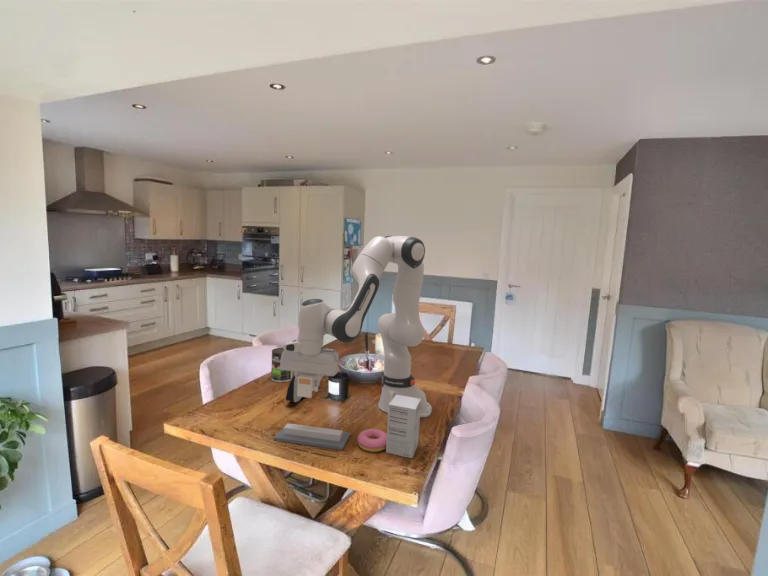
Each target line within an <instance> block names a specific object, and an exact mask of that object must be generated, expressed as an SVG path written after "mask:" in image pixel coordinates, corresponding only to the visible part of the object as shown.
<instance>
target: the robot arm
mask: <svg viewBox="0 0 768 576" xmlns="http://www.w3.org/2000/svg"><path fill="white" fill-rule="evenodd" d="M425 254H426V247H425V243H424V242H423V241H422V240H421V239H419V238H417V237H415V236H414V237H413V236H408V235H407V236H406V235H387V236H380V235H378V236H375V237H373V238H372V239H371V240H369V241H368V243H367V244H366V245H365V246H364V248H362V250H361V251H360V253H359V254H358V256H357V257H356V259H355V261H354V262H353V265H352V268H351V272H352V276H353V278H354V280H355V281H356V282H357V283H358V290H357V292H356V294H355V297H353V301H352V302H351V305H350V306H349V308H347V309H346V310H343V309H340V308H336V307H334V306H332V305H330V304H328V303H326V302H325V301H324V300H323V299H321V298H311V299H306V300H304V301H303V302H302V303H301V305H300V307H299V312H298V321H297V322H298V323H297V324H298V334H297V339H293V340H290V341H288V342H285V343H284V344H283V347H282V348H283V349H284V350H285V351H283V352H282V355H281V361H280V367H281V369H282V370H288V371H293V376H294V375H295V377H296V379H297V384H298V376H299V373H300V372H303V373H311V374H318V377H319V379H318V380H316V381H315V382H314V386H317V387H318V388H319V386H320V385H321V381H322V379H323V378H324V376H327V377H334V376H336V375H337V374H338V372H339V357H340V354H339V352H338V351H337V349H335V348H328V347H324V339H325V338H324V337H325V335H329V336H331V337H334V338H335V339H337V340H338V341H340V342H342V343H350V342H353V341H355V340H356V339H357V338H359V335H361V331H362V329H363V326H364V325H363V324H364V320H365V318H366V315H367V314H368V311H369V309H370V307H371V305H372V303H373V302H374V299H375V297H376V295H377V293H378V291H379V286H380V279H381V277H382V274H383V273H384V271H385V269H386V268H387V267H388V264H389V263H392V264H395V265H397V267H398V269H397V270H398V271H397V273H396V278H395V282H394V288H393V293H392V303H393V305H394V312H395V313H393V312H390V313H389V312H388V313H387V312H386V313H384V314H382V315H381V316H380V317H379V318H378V321H377V329H378V331H379V333H380V336H381V341H382V346H383V353H384V354H383V355H384V362H383V365H384V366H383V372H382V378H381V393H380V397H379V402H378V404H377V407H378V409H379V410H380V411H383V412H385V413H386V414H387V415H388V406H389V404H390V402H391V401H392V400H393V398H394V397H395V395H402V396H407V397H413V398H419V399H421V411H420V418H427V417H430V416H431V414H432V410H433V409H432V404H430V402H428V401H427V395H426V393H425V392H424V391H423V390H422V389H421V388H419V386H417V385H416V378H415V375H412V374H411V366H412V355H411V353H410V352H409V349H408V347H409V348H410V347H411V348H413V347H417V346H418V345H420V344H421V343H422V341H423V339H424V336H425V330H424V328H423V326H422V323H421V320H420V307H419V306H420V304H419V303H420V298H421V293H422V289H423V282H424V275H425V273H424V271H425V267H424V266H425V265H424V262H423V261H424V259H425Z"/></svg>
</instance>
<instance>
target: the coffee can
mask: <svg viewBox="0 0 768 576" xmlns="http://www.w3.org/2000/svg"><path fill="white" fill-rule="evenodd" d="M283 351H285V350H284V349H283V347H277V348H273V349H272V350H271V375H270V380H272V382H276V383H286V382H291V380H292V378H293V376H294V371H288V370H282V369H281V367H280V361H281V355H282V352H283Z"/></svg>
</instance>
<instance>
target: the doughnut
mask: <svg viewBox="0 0 768 576" xmlns="http://www.w3.org/2000/svg"><path fill="white" fill-rule="evenodd" d="M356 439H357V444H358V446H359V447H360V448H361V450H364V451H366V452H372V453H378V452H381V451H384V450H386V441H387V432H385V431H383V430H381V429H377V428H367V429H364V430H362V431H361V432H360V433H358V435H357V438H356Z"/></svg>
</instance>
